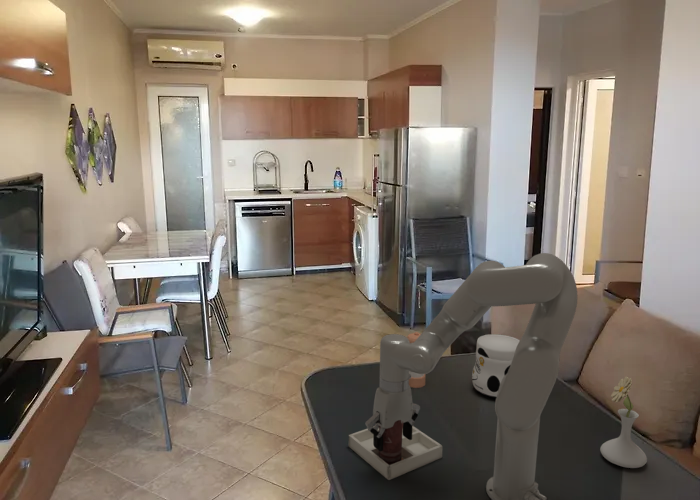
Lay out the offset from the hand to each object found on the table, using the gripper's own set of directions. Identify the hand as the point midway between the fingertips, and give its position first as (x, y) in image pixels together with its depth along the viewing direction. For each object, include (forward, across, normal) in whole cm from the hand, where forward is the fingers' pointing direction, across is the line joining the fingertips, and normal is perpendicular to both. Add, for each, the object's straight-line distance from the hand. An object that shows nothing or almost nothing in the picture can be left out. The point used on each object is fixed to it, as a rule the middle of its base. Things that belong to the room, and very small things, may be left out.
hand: (393, 443), depth 141 cm
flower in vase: (+7, -53, +32) cm, 63 cm away
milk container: (+7, -57, -15) cm, 60 cm away
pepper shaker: (+7, -37, -35) cm, 51 cm away
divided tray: (+6, -4, -5) cm, 9 cm away
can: (+6, 0, -1) cm, 6 cm away
